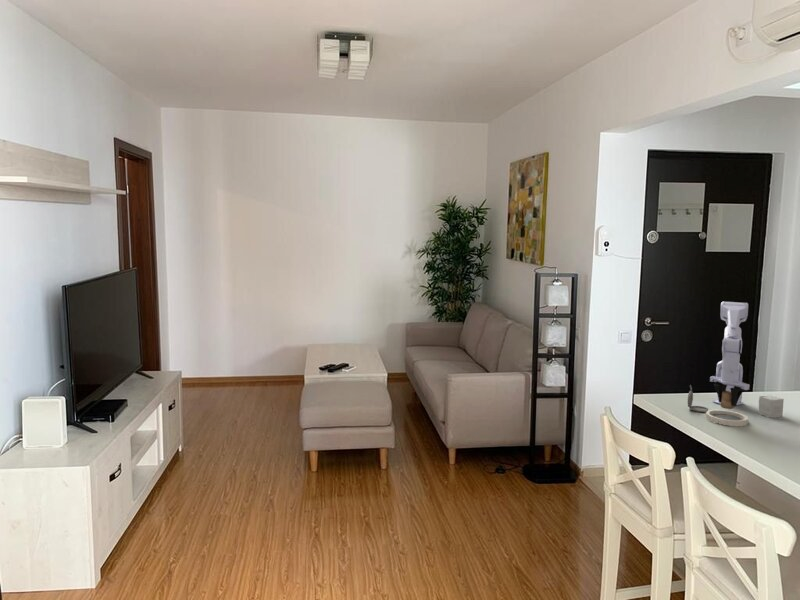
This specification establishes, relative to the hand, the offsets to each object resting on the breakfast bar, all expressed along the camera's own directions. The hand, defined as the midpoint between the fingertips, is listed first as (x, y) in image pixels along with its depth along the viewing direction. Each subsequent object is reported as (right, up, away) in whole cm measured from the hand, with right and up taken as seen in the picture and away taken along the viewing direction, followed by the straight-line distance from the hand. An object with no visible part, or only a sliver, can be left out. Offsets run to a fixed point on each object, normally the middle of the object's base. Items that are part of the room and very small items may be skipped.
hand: (727, 403), depth 226 cm
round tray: (0, -7, +1) cm, 7 cm away
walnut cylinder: (0, -1, 0) cm, 1 cm away
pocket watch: (-5, -5, +14) cm, 16 cm away
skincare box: (+21, -6, +8) cm, 23 cm away
